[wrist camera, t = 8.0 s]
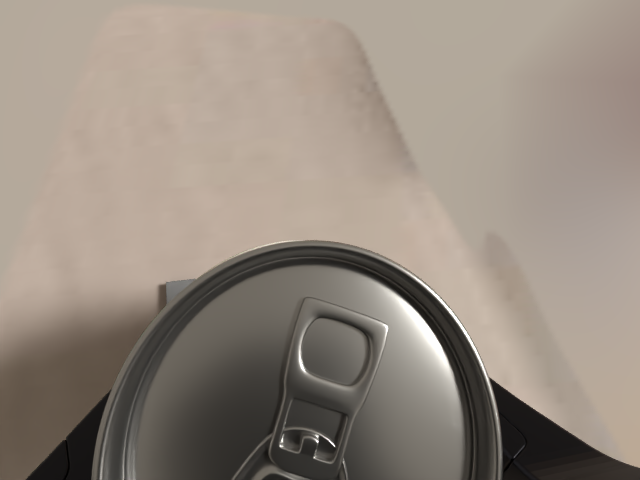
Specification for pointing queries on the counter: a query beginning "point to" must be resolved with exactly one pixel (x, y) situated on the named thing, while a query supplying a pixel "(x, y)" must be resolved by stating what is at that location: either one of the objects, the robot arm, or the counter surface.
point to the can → (302, 378)
